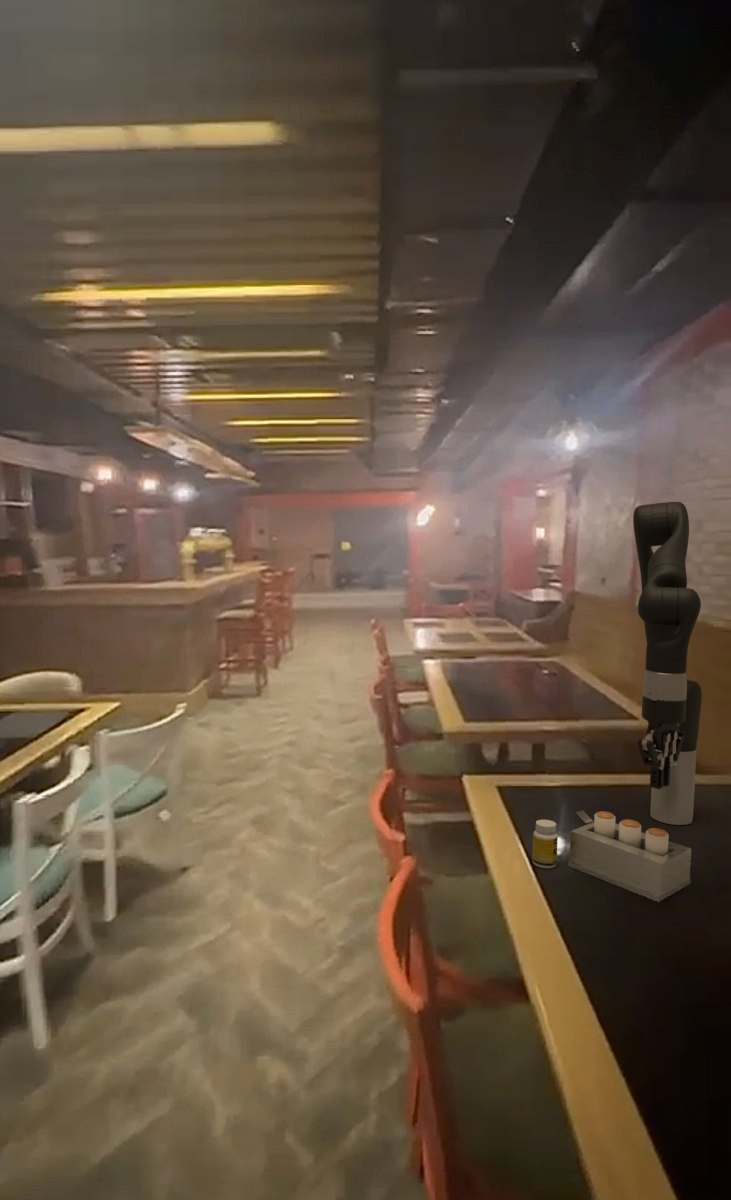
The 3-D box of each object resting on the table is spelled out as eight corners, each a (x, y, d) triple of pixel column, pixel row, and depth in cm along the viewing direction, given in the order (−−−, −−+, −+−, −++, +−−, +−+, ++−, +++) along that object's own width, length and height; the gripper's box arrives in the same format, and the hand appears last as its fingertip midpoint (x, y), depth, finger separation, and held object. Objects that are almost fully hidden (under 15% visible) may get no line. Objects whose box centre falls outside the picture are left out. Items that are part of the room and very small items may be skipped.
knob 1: (600, 837, 150) (601, 809, 150) (618, 844, 147) (619, 814, 147) (589, 842, 148) (590, 813, 147) (607, 849, 145) (608, 819, 144)
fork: (637, 842, 160) (637, 833, 160) (575, 820, 173) (575, 812, 173) (643, 840, 162) (644, 831, 162) (582, 817, 175) (582, 809, 174)
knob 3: (651, 856, 142) (652, 825, 142) (671, 863, 139) (672, 832, 138) (640, 861, 139) (641, 830, 139) (660, 868, 136) (662, 837, 136)
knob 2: (625, 846, 146) (626, 817, 146) (643, 853, 143) (645, 823, 143) (614, 851, 144) (615, 821, 143) (632, 858, 141) (634, 828, 140)
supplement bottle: (557, 870, 145) (558, 828, 144) (532, 867, 146) (534, 826, 145) (555, 860, 150) (557, 819, 149) (532, 857, 151) (533, 817, 150)
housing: (601, 850, 155) (603, 818, 154) (690, 883, 140) (692, 847, 140) (568, 865, 147) (569, 831, 147) (658, 902, 133) (660, 864, 132)
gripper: (663, 687, 144) (659, 774, 145) (625, 695, 135) (621, 788, 137) (702, 694, 138) (697, 784, 140) (664, 703, 130) (659, 799, 131)
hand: (659, 786), depth 138 cm, fingers closed
